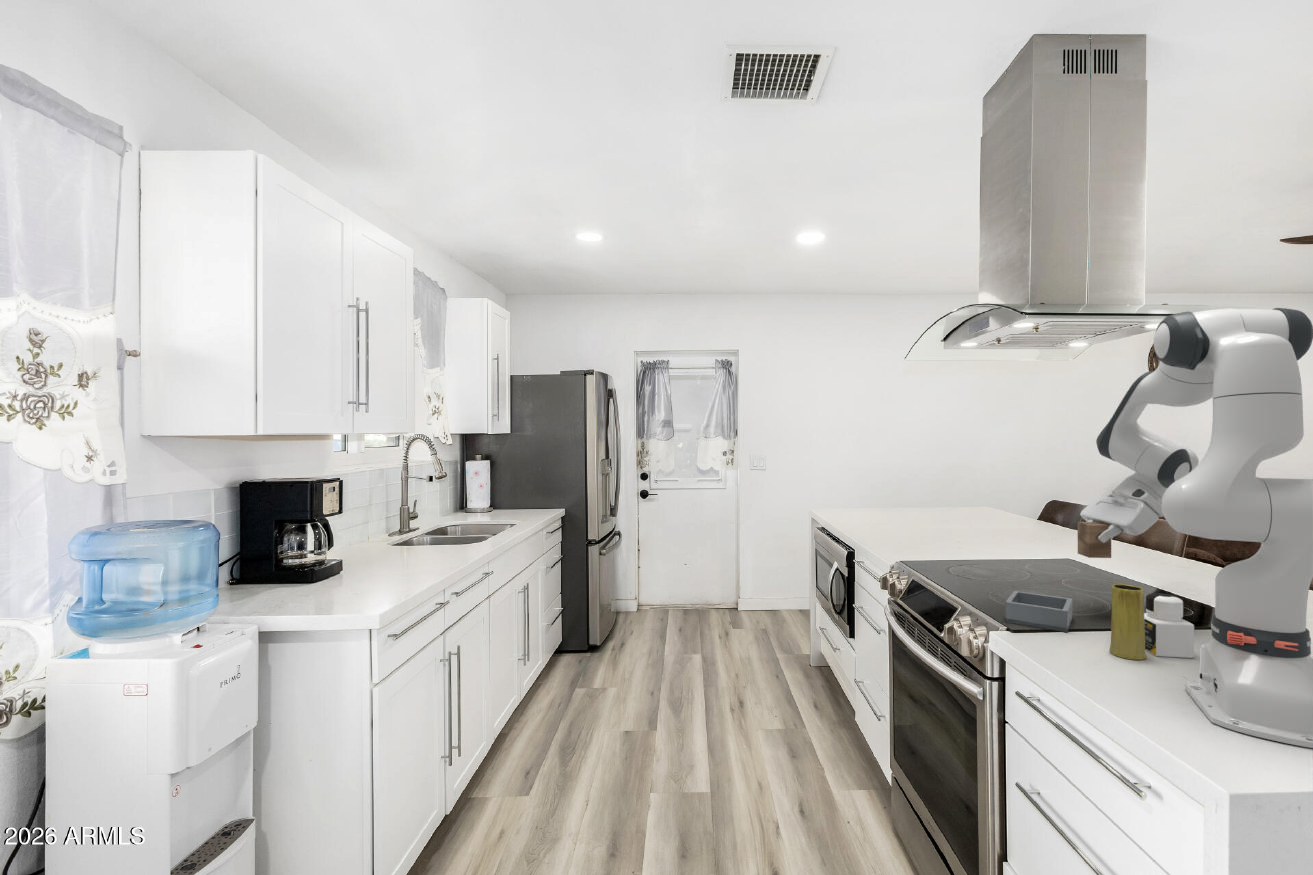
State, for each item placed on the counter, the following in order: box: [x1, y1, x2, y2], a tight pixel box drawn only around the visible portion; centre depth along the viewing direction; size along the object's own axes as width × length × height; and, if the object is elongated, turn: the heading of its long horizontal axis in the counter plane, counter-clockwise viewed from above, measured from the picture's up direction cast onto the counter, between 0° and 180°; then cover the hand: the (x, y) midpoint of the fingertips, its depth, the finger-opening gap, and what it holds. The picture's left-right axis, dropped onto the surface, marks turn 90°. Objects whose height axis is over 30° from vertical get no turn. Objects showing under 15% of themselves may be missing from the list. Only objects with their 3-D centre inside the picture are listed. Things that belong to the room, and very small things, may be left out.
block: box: [1077, 521, 1112, 559], centre depth 150 cm, size 5×5×8 cm
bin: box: [1005, 590, 1074, 633], centre depth 149 cm, size 13×13×5 cm
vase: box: [1109, 583, 1147, 661], centre depth 126 cm, size 6×6×14 cm
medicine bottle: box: [1144, 592, 1195, 659], centre depth 128 cm, size 7×7×12 cm
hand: (1091, 537), depth 150 cm, fingers closed on block, 5 cm apart
